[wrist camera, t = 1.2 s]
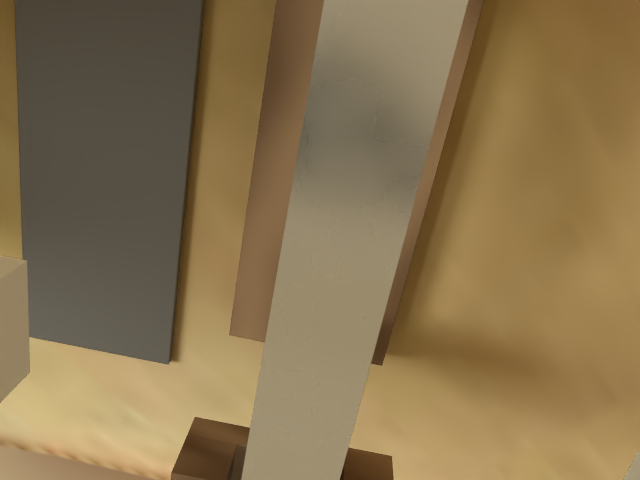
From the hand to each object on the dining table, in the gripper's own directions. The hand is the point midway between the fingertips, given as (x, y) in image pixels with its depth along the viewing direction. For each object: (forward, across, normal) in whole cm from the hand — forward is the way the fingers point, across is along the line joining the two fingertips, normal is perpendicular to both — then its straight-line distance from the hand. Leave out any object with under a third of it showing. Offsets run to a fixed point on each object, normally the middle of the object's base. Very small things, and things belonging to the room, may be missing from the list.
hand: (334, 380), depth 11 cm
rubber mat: (+21, -14, 0) cm, 26 cm away
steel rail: (+7, 0, 0) cm, 7 cm away
